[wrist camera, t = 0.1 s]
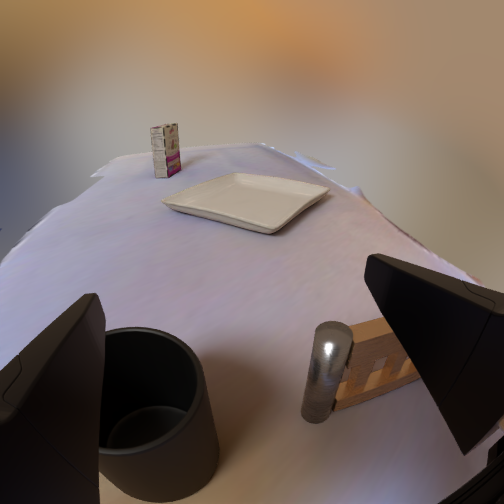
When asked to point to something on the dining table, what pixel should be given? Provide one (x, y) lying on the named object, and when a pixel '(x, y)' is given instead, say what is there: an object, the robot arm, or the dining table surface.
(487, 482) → the robot arm
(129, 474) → the mug
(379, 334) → the wooden fence panel
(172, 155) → the candy bar box
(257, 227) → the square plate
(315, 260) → the dining table surface
